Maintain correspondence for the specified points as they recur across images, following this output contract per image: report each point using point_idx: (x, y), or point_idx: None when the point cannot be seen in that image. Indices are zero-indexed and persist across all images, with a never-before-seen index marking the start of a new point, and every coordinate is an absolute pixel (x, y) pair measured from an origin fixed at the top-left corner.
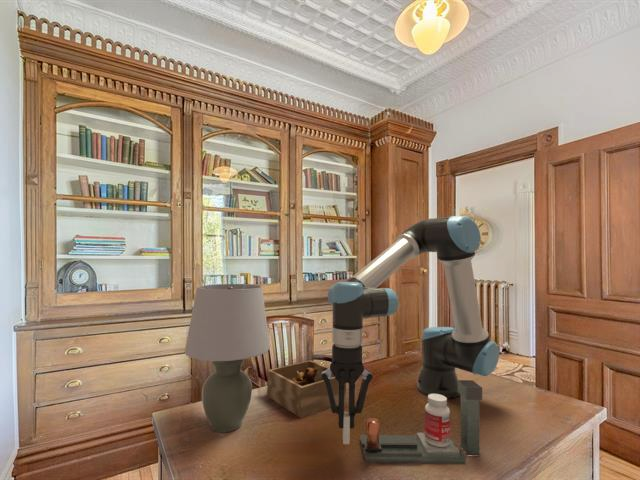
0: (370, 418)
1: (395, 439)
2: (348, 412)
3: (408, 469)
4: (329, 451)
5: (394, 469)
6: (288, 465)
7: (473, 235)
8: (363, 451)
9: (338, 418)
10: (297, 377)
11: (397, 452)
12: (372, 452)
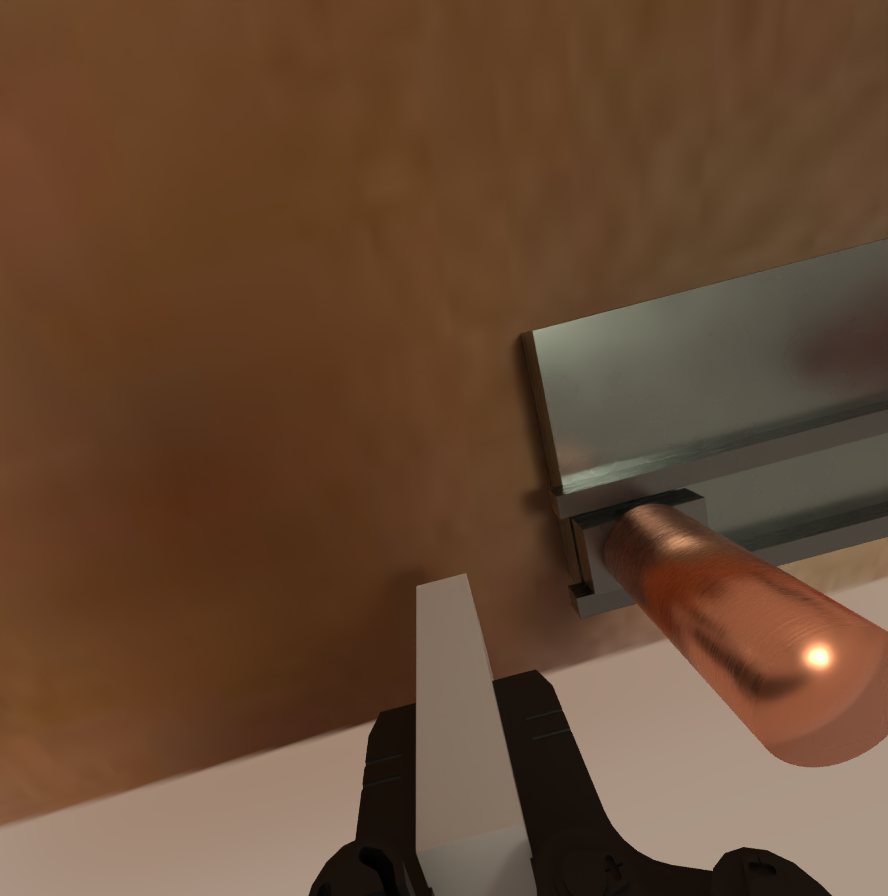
0: (809, 652)
1: (810, 328)
2: (521, 849)
3: (802, 564)
4: (327, 528)
5: None
6: (134, 720)
7: None
8: (552, 482)
9: (361, 807)
10: None
11: (806, 544)
12: None
